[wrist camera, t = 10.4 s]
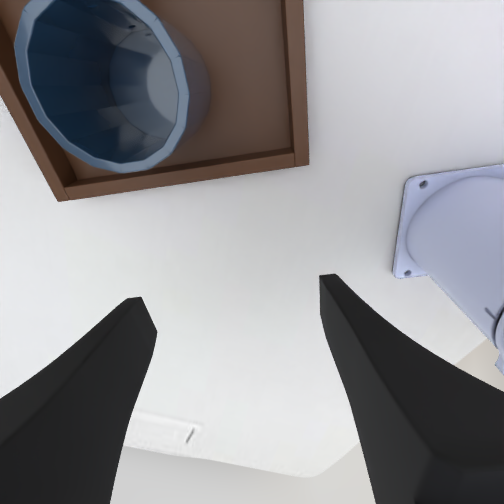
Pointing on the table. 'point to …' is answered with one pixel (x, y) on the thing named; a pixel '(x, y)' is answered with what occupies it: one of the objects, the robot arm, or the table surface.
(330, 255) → the table surface
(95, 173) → the tray
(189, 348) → the table surface
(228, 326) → the table surface
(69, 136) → the cup
